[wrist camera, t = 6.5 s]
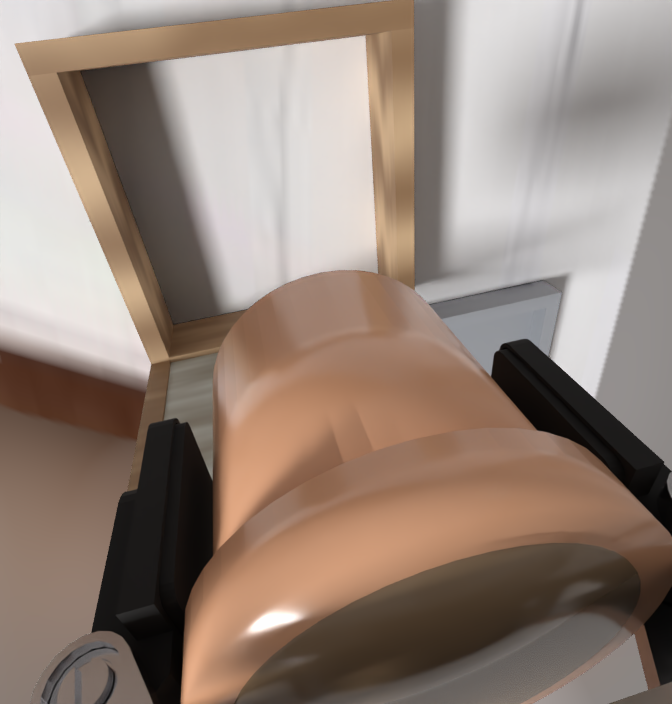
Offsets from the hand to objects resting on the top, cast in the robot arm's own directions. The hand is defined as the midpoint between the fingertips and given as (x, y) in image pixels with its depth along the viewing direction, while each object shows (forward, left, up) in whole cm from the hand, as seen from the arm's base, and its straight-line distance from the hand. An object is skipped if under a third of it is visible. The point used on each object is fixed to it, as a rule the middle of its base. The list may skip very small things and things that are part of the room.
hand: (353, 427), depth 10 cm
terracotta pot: (0, 0, -2) cm, 2 cm away
